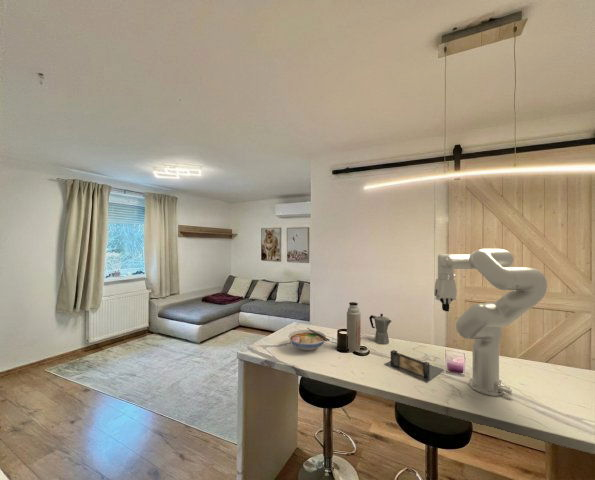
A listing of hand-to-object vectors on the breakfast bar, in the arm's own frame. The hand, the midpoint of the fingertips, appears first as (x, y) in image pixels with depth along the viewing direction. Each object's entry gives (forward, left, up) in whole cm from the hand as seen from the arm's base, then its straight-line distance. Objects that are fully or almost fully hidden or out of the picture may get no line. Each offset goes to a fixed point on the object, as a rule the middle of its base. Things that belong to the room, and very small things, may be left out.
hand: (445, 310), depth 140 cm
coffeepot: (+38, +4, -27) cm, 47 cm away
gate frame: (+7, +21, -27) cm, 35 cm away
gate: (+7, +26, -26) cm, 37 cm away
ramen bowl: (+59, +48, -27) cm, 81 cm away
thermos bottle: (+40, +28, -27) cm, 56 cm away
